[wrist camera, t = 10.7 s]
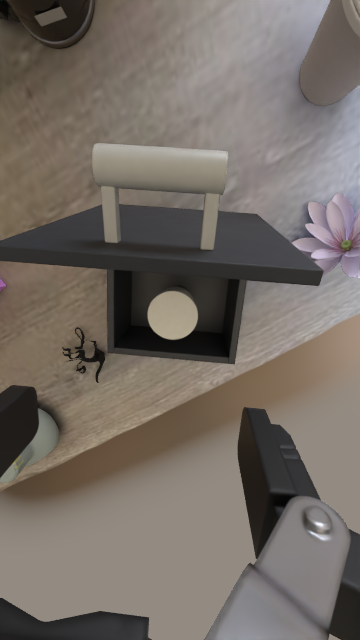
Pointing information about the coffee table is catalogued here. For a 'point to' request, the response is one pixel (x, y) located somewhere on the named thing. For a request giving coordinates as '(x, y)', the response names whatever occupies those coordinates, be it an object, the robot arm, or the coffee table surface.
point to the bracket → (2, 285)
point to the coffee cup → (333, 55)
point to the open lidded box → (200, 345)
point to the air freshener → (35, 447)
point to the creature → (97, 357)
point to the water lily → (333, 236)
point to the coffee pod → (173, 313)
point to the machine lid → (164, 224)
